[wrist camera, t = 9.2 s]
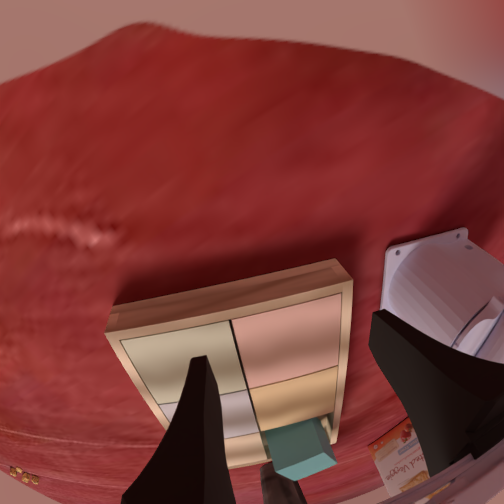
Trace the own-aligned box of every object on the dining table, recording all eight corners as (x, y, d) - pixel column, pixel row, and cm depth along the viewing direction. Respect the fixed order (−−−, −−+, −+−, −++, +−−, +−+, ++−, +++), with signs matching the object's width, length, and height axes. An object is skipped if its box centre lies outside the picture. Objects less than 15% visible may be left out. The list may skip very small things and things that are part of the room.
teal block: (305, 404, 28) (323, 452, 23) (320, 421, 31) (337, 463, 26) (262, 423, 29) (275, 471, 24) (281, 438, 31) (294, 481, 26)
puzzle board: (112, 306, 21) (104, 333, 18) (335, 258, 22) (353, 279, 19) (198, 453, 32) (200, 473, 29) (328, 424, 33) (336, 442, 31)
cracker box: (433, 393, 37) (497, 495, 19) (443, 399, 40) (501, 490, 21) (364, 446, 40) (410, 547, 22) (380, 448, 43) (423, 538, 25)
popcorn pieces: (41, 476, 35) (39, 484, 33) (29, 476, 35) (28, 484, 34) (19, 463, 32) (18, 472, 31) (9, 464, 33) (7, 472, 31)
